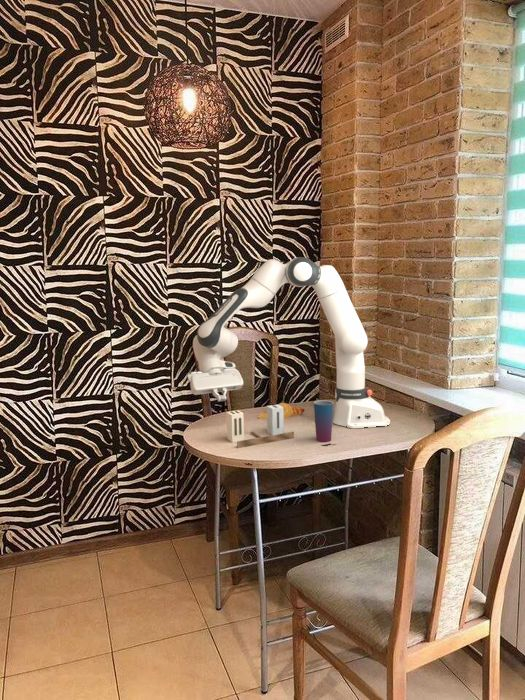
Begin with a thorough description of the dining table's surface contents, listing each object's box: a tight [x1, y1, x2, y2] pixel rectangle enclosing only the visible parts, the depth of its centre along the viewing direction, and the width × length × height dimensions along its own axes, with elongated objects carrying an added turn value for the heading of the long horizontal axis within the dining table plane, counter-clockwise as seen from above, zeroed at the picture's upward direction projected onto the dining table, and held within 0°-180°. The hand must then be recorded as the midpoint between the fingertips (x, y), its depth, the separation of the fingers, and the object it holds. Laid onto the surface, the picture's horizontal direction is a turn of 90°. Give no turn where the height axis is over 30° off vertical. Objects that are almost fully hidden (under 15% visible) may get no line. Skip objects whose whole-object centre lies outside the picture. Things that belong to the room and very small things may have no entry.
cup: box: [313, 399, 334, 447], centre depth 196 cm, size 7×7×15 cm
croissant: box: [257, 402, 305, 420], centre depth 230 cm, size 21×10×8 cm, turn 115°
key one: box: [266, 404, 285, 436], centre depth 205 cm, size 4×5×10 cm
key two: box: [226, 410, 245, 443], centre depth 198 cm, size 4×5×10 cm
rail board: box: [236, 431, 295, 449], centre depth 200 cm, size 22×12×4 cm, turn 117°
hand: (222, 400), depth 207 cm, fingers closed
